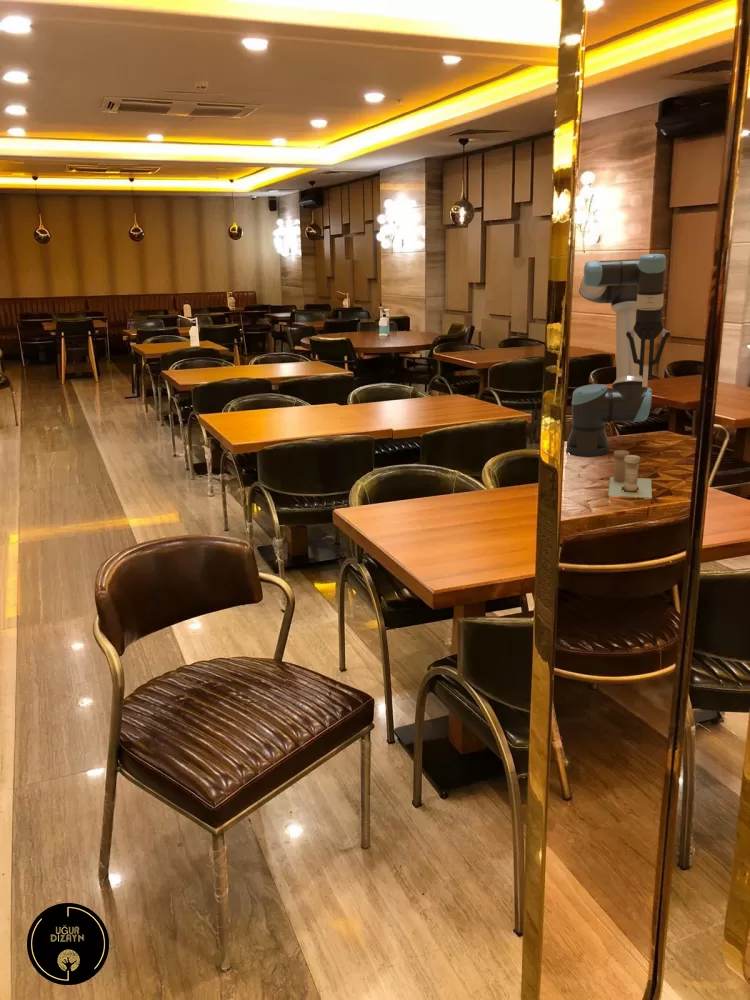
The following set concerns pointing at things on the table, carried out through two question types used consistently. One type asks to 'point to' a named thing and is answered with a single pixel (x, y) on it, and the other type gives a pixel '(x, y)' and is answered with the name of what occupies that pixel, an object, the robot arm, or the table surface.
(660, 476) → the table surface
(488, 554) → the table surface
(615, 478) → the board
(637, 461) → the peg
